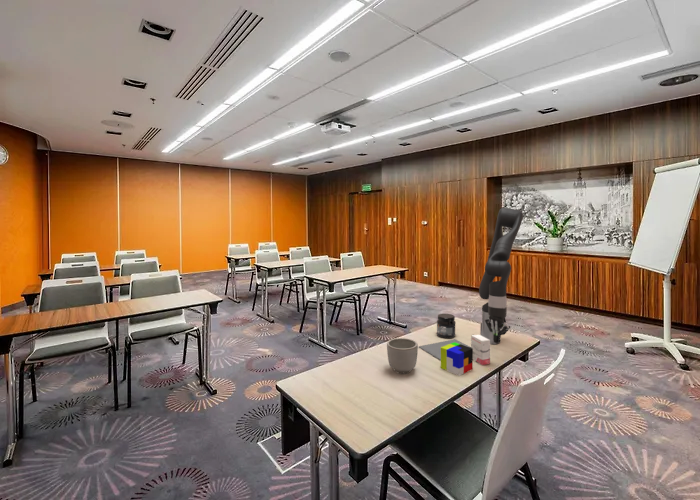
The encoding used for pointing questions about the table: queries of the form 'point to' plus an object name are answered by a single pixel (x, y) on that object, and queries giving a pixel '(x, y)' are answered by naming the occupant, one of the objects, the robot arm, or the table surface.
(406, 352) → the planter
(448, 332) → the supplement container
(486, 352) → the ink box
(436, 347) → the mat
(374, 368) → the table surface
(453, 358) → the puzzle toy
